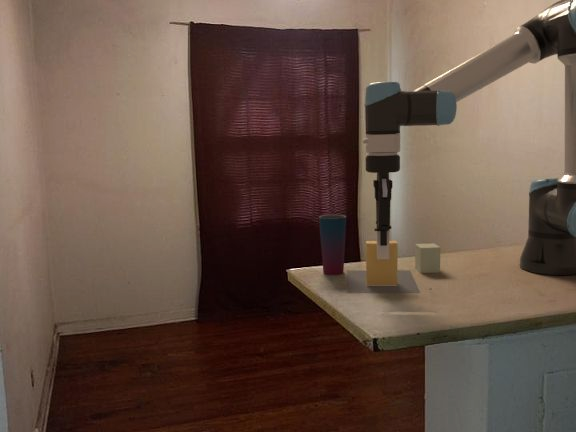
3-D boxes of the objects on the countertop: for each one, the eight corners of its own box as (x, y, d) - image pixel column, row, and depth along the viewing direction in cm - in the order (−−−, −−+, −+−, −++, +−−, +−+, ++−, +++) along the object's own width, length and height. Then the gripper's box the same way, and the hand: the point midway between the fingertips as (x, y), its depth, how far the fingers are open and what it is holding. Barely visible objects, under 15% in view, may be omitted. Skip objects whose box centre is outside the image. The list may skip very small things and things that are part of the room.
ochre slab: (396, 282, 139) (396, 240, 138) (397, 285, 136) (397, 243, 135) (366, 282, 140) (366, 241, 138) (366, 285, 137) (366, 243, 135)
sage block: (434, 269, 153) (434, 243, 151) (440, 274, 148) (440, 247, 147) (414, 270, 152) (415, 244, 151) (420, 275, 147) (420, 248, 146)
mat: (410, 272, 150) (410, 270, 150) (420, 295, 130) (420, 292, 130) (346, 272, 152) (346, 270, 151) (347, 295, 132) (347, 292, 132)
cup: (317, 277, 148) (316, 218, 145) (322, 271, 154) (321, 214, 152) (344, 278, 146) (344, 218, 144) (348, 271, 152) (348, 214, 150)
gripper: (364, 152, 137) (365, 252, 140) (366, 156, 124) (367, 265, 128) (397, 152, 136) (397, 252, 140) (403, 155, 123) (403, 265, 127)
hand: (383, 258), depth 134 cm, fingers closed
